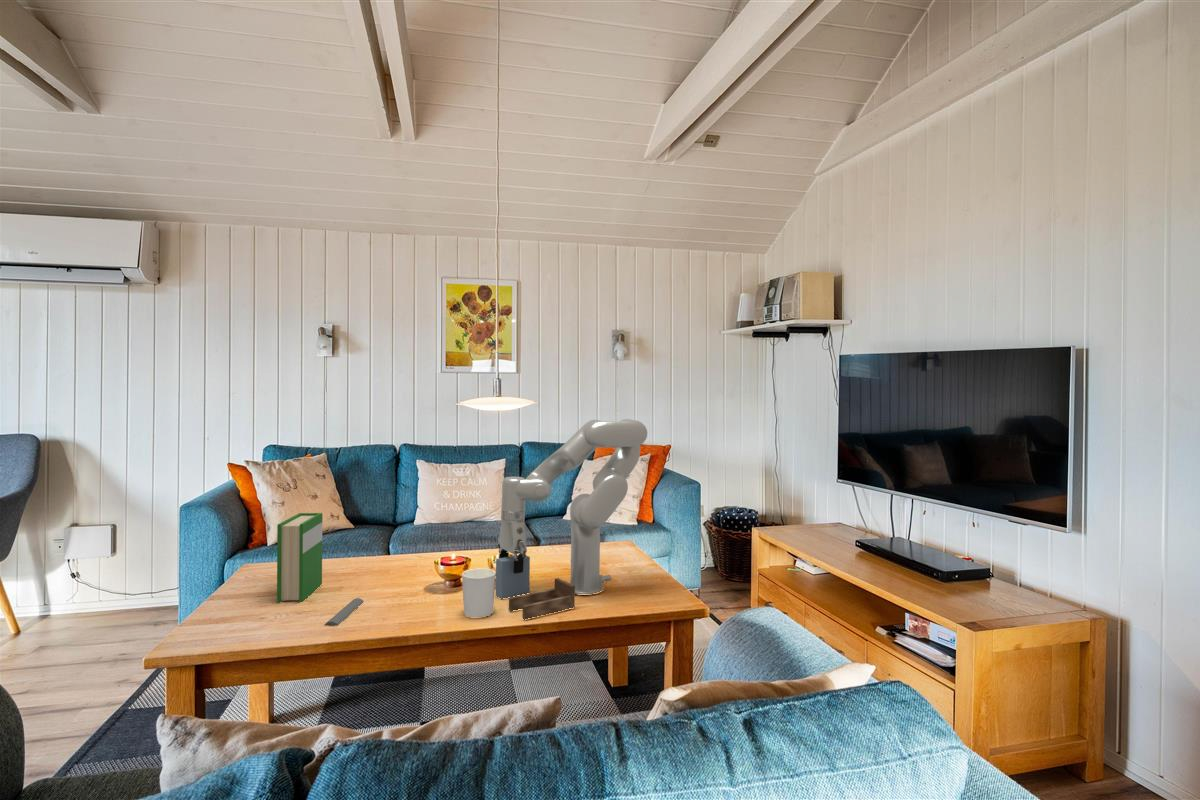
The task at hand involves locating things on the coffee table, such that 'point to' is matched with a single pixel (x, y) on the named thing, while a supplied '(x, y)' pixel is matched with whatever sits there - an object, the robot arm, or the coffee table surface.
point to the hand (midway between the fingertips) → (510, 568)
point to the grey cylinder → (478, 592)
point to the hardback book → (299, 556)
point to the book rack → (545, 600)
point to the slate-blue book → (511, 578)
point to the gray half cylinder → (345, 612)
